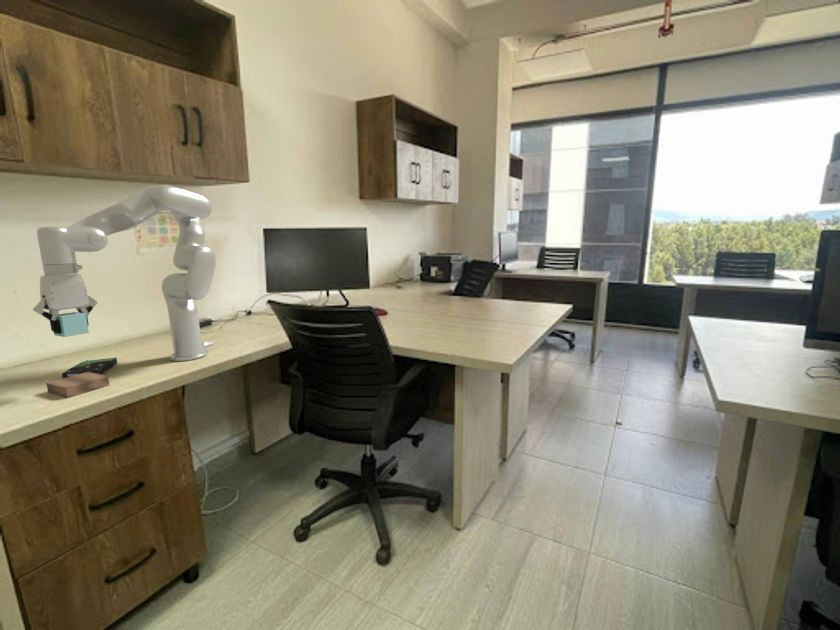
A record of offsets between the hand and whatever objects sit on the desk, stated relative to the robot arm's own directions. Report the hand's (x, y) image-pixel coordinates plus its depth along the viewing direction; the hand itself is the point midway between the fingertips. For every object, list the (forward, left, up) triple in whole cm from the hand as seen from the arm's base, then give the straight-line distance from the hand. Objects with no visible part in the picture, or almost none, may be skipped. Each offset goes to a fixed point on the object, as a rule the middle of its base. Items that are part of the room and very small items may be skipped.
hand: (71, 330), depth 123 cm
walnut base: (+1, 0, -18) cm, 18 cm away
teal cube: (0, 0, -1) cm, 1 cm away
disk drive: (-11, -16, -19) cm, 27 cm away
